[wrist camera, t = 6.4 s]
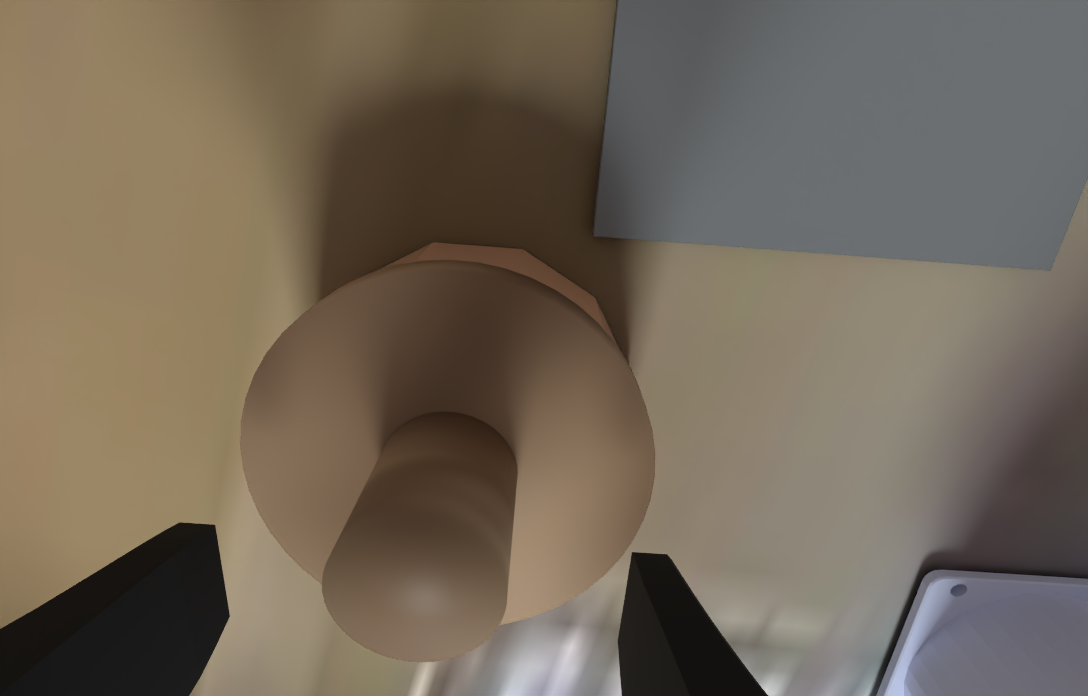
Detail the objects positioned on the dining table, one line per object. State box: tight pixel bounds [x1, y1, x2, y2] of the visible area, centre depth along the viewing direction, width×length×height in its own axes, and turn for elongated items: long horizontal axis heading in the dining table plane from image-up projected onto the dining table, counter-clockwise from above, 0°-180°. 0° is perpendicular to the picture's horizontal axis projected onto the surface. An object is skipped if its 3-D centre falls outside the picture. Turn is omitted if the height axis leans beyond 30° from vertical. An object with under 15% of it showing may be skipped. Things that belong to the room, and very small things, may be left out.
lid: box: [240, 260, 655, 662], centre depth 11 cm, size 9×9×4 cm
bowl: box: [376, 242, 619, 348], centre depth 15 cm, size 9×9×4 cm
